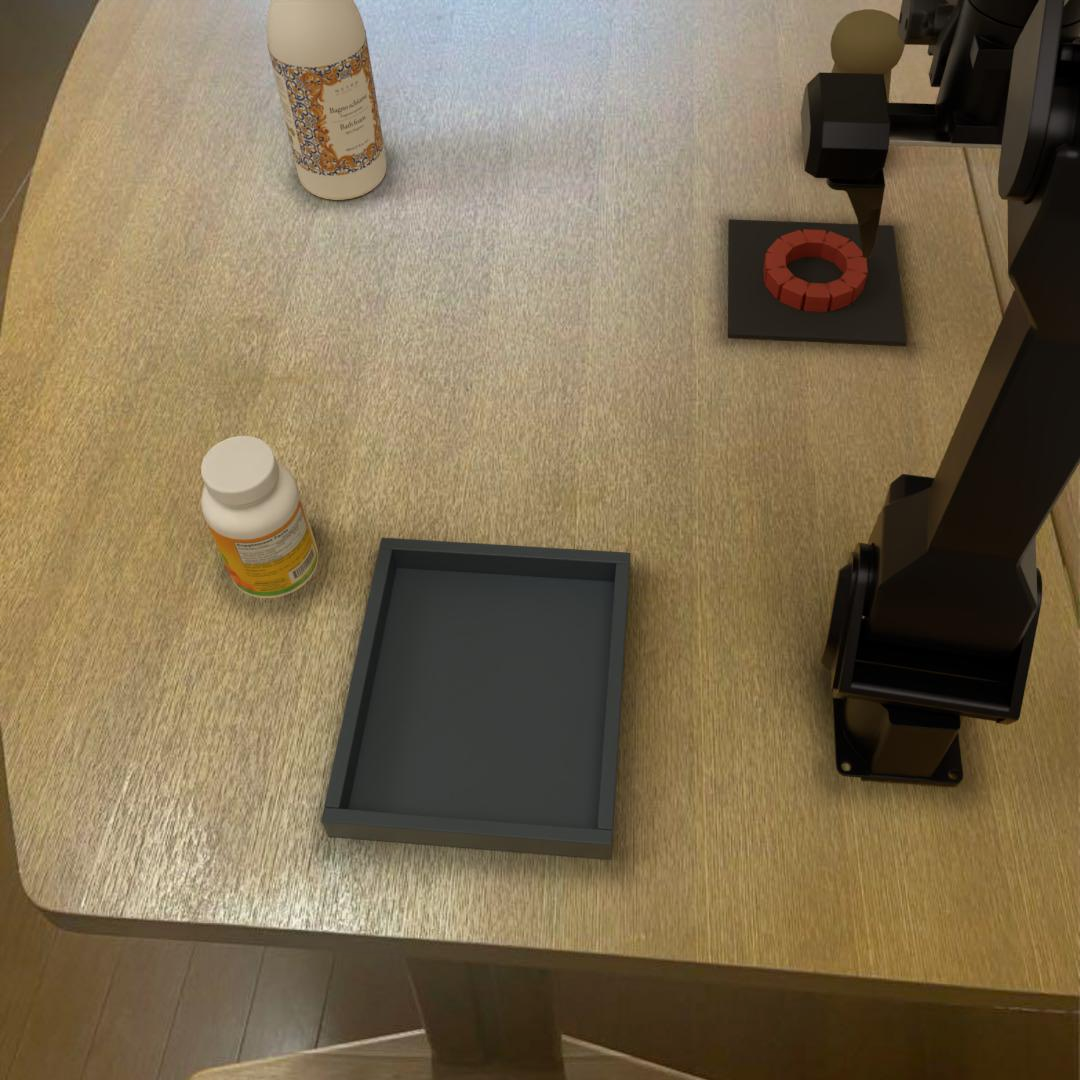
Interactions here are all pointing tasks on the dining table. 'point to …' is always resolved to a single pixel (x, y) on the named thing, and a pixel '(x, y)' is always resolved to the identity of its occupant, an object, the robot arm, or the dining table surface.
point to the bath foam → (327, 95)
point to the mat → (768, 318)
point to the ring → (815, 294)
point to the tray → (485, 700)
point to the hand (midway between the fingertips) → (946, 255)
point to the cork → (867, 44)
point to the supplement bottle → (257, 518)
